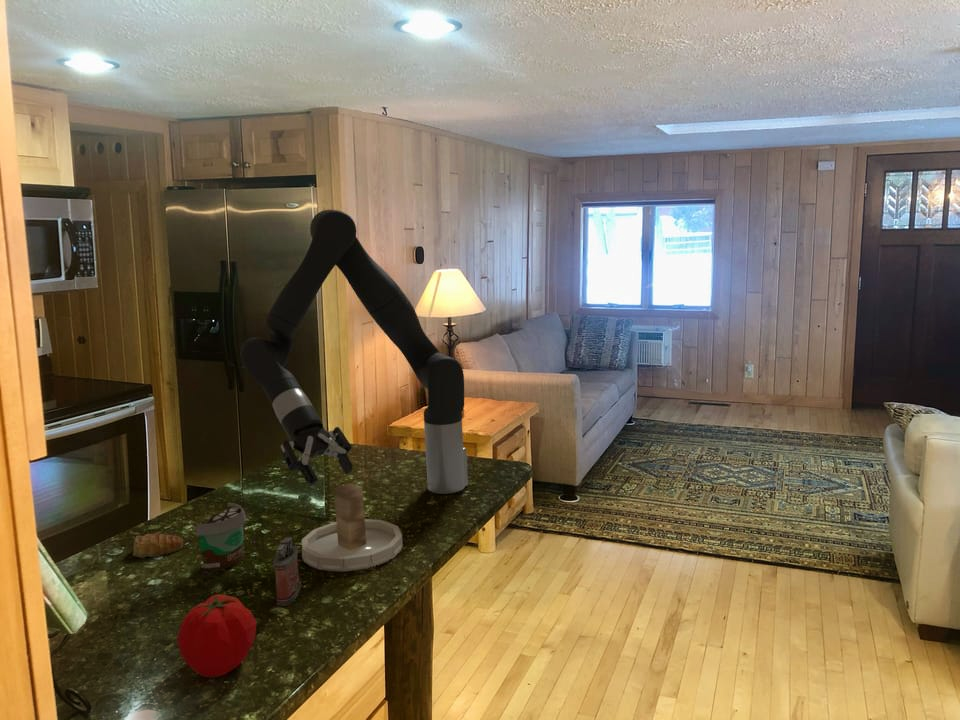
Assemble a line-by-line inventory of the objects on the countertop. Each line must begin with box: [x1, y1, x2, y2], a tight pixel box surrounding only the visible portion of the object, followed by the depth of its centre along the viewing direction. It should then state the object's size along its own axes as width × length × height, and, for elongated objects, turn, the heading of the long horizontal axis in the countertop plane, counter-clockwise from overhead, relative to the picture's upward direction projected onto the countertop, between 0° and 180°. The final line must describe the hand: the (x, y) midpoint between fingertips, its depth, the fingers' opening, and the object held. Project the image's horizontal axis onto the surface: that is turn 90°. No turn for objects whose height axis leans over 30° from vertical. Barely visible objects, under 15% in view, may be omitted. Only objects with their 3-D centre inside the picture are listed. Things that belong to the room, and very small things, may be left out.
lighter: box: [272, 536, 301, 606], centre depth 135 cm, size 8×3×10 cm, turn 178°
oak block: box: [333, 482, 366, 550], centre depth 153 cm, size 4×4×12 cm
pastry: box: [132, 532, 184, 559], centre depth 157 cm, size 9×7×4 cm
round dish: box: [301, 518, 404, 573], centre depth 154 cm, size 20×20×2 cm
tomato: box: [176, 593, 257, 678], centre depth 114 cm, size 11×13×10 cm
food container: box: [195, 502, 247, 572], centre depth 150 cm, size 12×6×10 cm, turn 168°
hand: (332, 477), depth 156 cm, fingers open, 8 cm apart
